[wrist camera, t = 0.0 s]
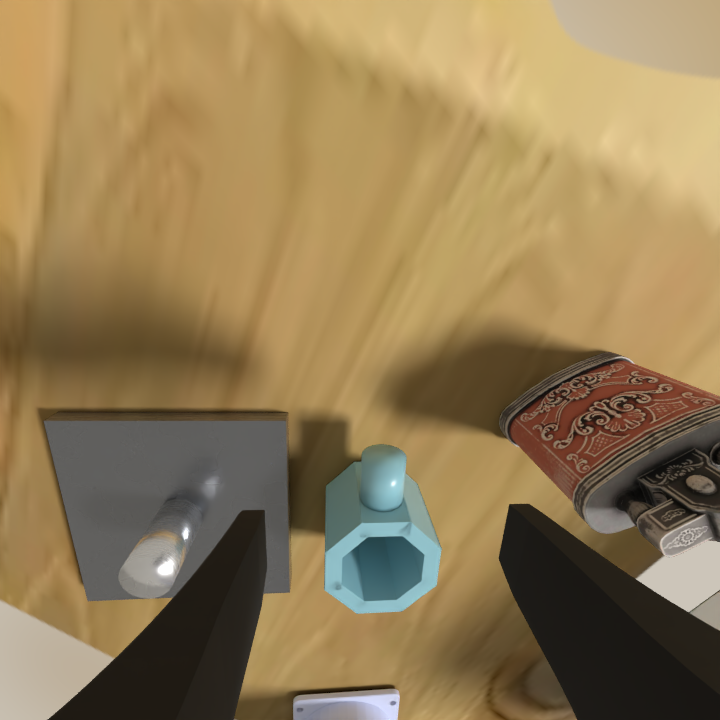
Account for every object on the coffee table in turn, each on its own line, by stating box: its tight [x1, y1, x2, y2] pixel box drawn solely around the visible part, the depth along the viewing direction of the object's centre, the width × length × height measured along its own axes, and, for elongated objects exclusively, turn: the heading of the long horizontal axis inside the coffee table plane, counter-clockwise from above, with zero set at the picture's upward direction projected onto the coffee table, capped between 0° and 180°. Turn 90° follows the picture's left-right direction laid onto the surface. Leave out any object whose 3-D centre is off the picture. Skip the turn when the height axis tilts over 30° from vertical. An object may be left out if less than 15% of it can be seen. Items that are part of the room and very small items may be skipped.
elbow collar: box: [324, 444, 442, 614], centre depth 19 cm, size 8×6×5 cm
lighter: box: [499, 352, 720, 557], centre depth 16 cm, size 8×3×10 cm, turn 121°
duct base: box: [44, 412, 291, 601], centre depth 19 cm, size 12×12×5 cm
